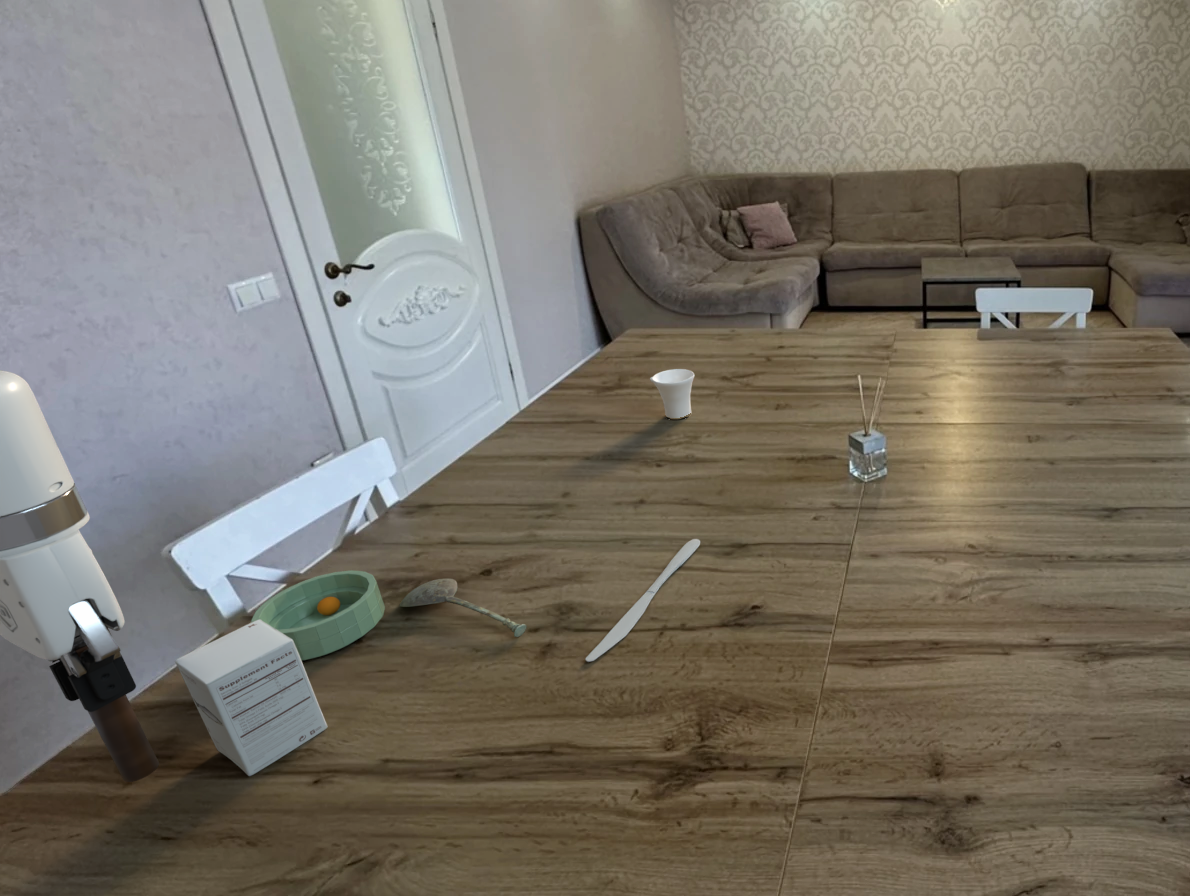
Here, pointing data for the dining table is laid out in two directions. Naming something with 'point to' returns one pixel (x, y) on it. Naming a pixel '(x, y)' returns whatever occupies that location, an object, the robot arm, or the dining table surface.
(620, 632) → the butter knife
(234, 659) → the white packaging box
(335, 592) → the bowl
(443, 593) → the soupspoon
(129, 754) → the stirring stick
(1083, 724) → the dining table surface
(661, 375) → the cup
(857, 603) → the dining table surface
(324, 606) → the ball
